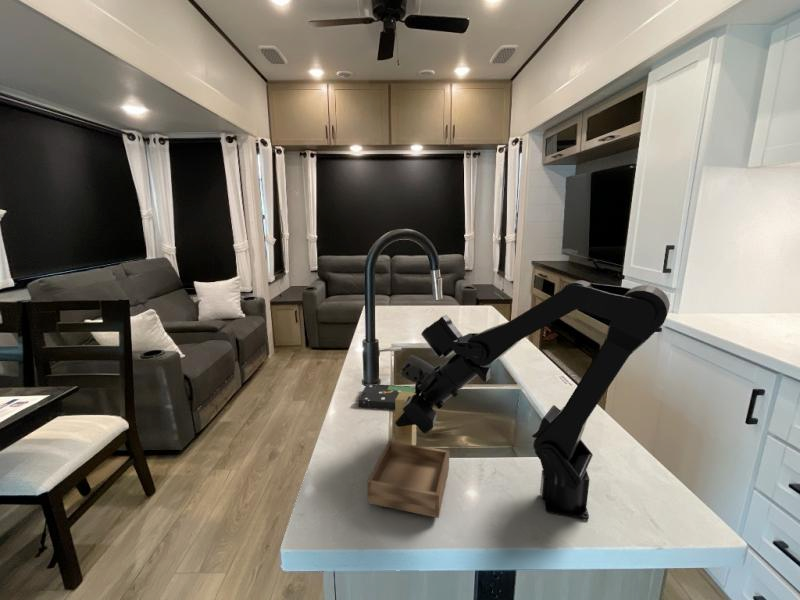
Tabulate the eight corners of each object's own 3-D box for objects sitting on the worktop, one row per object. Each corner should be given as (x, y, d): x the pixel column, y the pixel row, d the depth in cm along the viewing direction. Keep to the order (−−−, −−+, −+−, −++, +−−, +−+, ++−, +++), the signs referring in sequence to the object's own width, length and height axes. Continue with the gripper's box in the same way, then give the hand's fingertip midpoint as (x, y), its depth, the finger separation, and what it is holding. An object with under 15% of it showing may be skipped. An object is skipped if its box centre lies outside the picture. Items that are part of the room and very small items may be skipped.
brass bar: (416, 443, 78) (416, 392, 76) (411, 454, 74) (411, 401, 72) (400, 441, 79) (400, 391, 76) (395, 452, 75) (395, 399, 73)
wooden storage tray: (448, 474, 68) (449, 450, 67) (438, 523, 57) (439, 495, 56) (388, 463, 71) (388, 441, 70) (367, 508, 60) (367, 481, 59)
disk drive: (358, 410, 94) (414, 412, 92) (357, 400, 93) (414, 402, 91) (366, 392, 104) (417, 394, 102) (366, 383, 103) (417, 385, 102)
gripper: (433, 332, 80) (386, 374, 85) (414, 362, 62) (357, 412, 67) (467, 369, 79) (419, 408, 84) (458, 409, 61) (397, 456, 67)
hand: (399, 418), depth 75 cm, fingers open, 4 cm apart
